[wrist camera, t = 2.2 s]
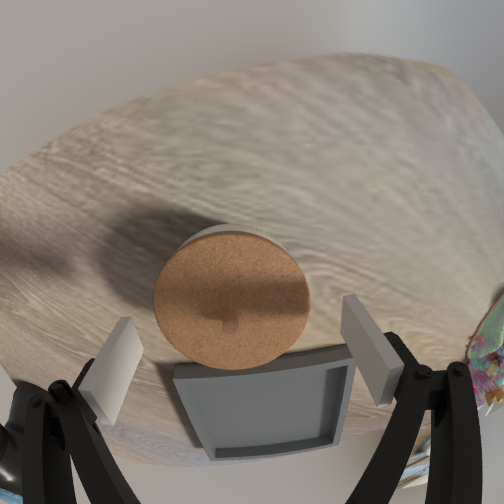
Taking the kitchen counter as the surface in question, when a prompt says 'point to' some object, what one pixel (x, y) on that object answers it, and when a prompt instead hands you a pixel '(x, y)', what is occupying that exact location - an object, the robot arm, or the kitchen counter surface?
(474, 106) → the kitchen counter surface
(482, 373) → the candy landscape model
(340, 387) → the tray
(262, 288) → the lidded jar
